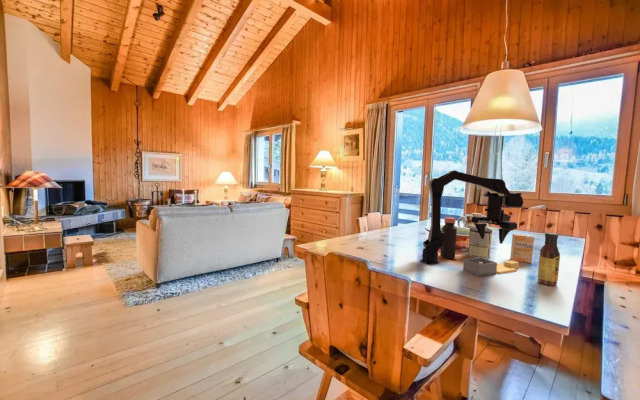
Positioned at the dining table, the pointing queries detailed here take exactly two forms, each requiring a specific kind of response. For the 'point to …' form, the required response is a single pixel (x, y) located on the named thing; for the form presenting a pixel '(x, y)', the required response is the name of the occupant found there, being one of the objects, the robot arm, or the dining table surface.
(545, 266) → the sauce bottle
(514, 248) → the supplement box
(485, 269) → the tub
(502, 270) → the lid
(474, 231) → the coffee can
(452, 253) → the vinegar
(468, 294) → the dining table surface
